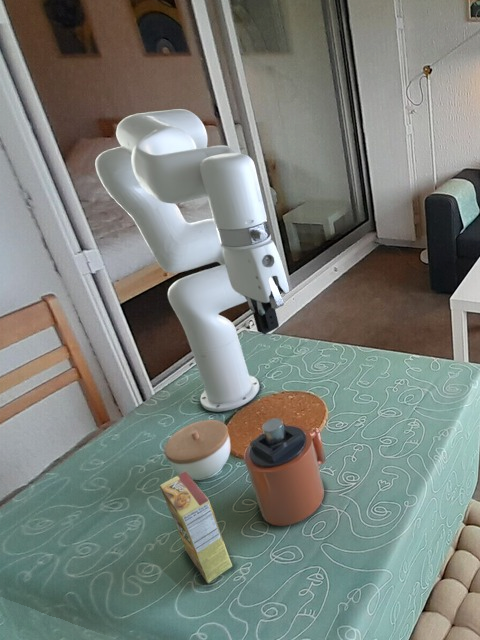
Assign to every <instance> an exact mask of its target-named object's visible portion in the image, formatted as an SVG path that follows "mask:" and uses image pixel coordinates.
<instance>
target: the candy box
mask: <svg viewBox="0 0 480 640" xmlns="http://www.w3.org/2000/svg"><path fill="white" fill-rule="evenodd" d="M159 489H160V491H161V493H162V496H163V498H164V501H165V503H166V505H167V508H168V511H169V513H170V515H171V519H172V520H173V522H174V525H175V527H176V530H177V532H178V534H179V537H180V539H181V542H182V544H183V546H184V549H185V552H186V553H187V554H188V556H189V558H190V559H191V561H192V562H193V564H194V566H195V567H196V568H197V570H198V571H199V573H200V574H201V576H202V577H203V578H204V580H205V582H206V583H207V584H210V583H212V582H213V581H214V580H215V579H217V578H218V577H219V576H220V575H222V574H223V573H225V572H226V571H228V570H230V569H231V568H232V567H233V564H232V561H231V558H230V555H229V552H228V550H227V547H226V544H225V541H224V538H223V534H222V532H221V530H220V527H219V524H218V521H217V518H216V516H215V512H214V510H213V507H212V505H211V502H210V500H209V498H208V497H207V496H206V494H205V493H204V492H203V490H201V488H200V487H199V486H198V484H197V483H196V482H195V480H194V479H192V478H191V477H190V475H189V474H188V473H187V471H185V472H183V473H182V474H180V475H179V474H177V475H176V476H174V477H172V478H171V479H168V480H167V481H164V482H163V483H161V484H159Z"/></svg>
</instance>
